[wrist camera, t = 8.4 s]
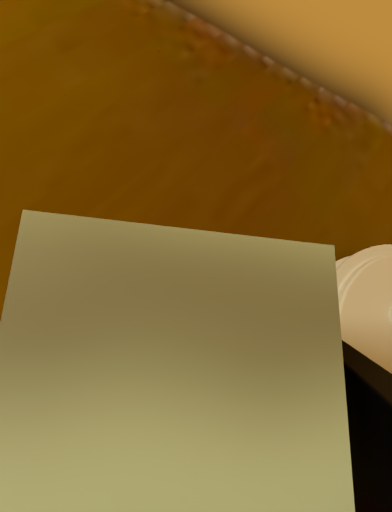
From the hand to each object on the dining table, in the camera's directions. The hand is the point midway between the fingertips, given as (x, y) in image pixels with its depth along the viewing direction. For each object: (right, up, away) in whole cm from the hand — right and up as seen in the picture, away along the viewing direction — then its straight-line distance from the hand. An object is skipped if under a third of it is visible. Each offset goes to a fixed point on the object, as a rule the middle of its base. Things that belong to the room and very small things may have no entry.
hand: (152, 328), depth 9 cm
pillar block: (-1, -3, +7) cm, 8 cm away
